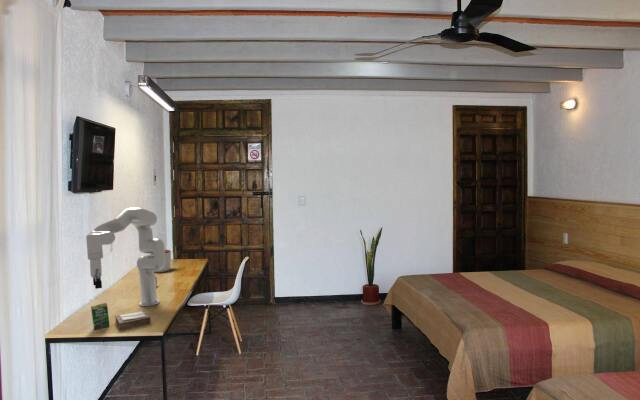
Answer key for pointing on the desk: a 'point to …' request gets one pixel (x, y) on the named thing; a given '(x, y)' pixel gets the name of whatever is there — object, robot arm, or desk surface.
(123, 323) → the stand
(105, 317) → the coffee box
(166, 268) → the canister
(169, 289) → the desk surface
